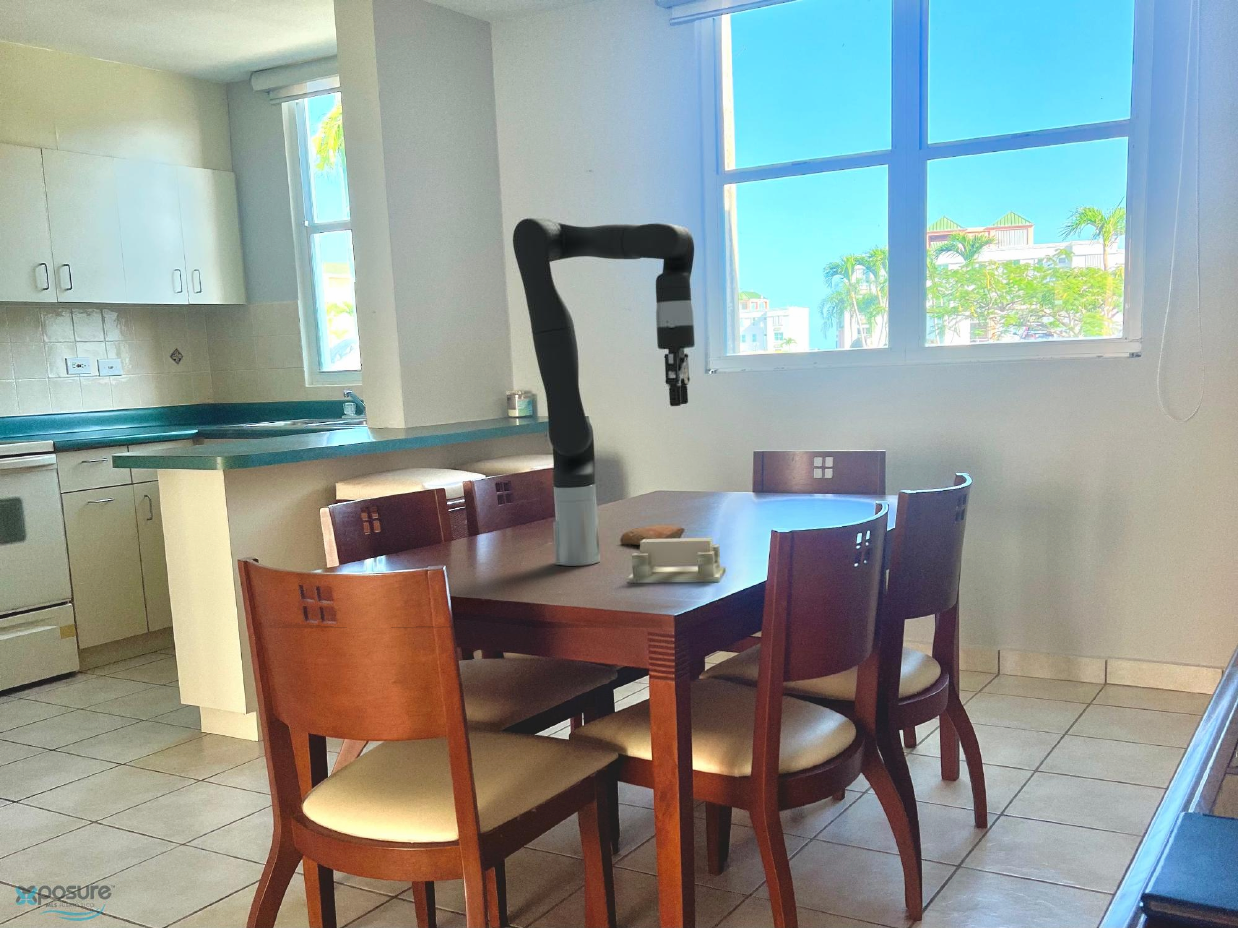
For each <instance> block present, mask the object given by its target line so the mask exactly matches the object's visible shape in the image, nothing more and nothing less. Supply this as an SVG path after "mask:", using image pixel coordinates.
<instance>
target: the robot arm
mask: <svg viewBox="0 0 1238 928" xmlns="http://www.w3.org/2000/svg"><path fill="white" fill-rule="evenodd" d="M512 247H513V251H514V252H513V253H514V255H515V256H514V257H515V259H516V263H517V266H518V267H517V268H518V271H519V273H520V274H519V275H520V277H521V281H522V284H523V289H524V294H525V298H526V299H525V300H526V305H527V311H528V314H529V321H530V327H531V334H532V341H533V347H534V352H535V356H536V361H537V365H538V370H539V374H540V376H541V377H540V378H541V380H542V381H541V382H542V384H543V387H544V392H545V393H544V394H545V397H546V407H547V409H546V410H547V421H548V424H547V425H548V438H549V442H550V444H551V446H552V460H553V461H552V462H553V467H552V468H553V470H552V472H553V473H552V485H553V498H554V511H555V512H554V513H555V515H554V516H555V521H553V523H552V527H553V540H554V541H553V543H554V555H555V556H554V557H555V565H557V566H558V565H561V566H567V567H568V566H569V567H570V566H571V567H572V566H574V567H575V566H579V567H580V566H588V565H593V564H597V563H599V562H600V561H601V555H600V554H601V553H600V550H601V549H600V539H599V538H600V537H599V521H598V506H597V505H598V504H597V488H596V461H595V460H596V458H595V456H596V455H595V438H594V430H593V426H592V423H591V422H590V420H589V419H588V418H587V417H586V413H585V409H584V406H583V401H582V397H581V392H580V385H579V384H580V383H579V373H580V372H579V371H580V370H579V365H580V364H579V351H578V342H577V336H576V330H575V324H574V320H573V317H572V314H571V313H570V311H569V309H568V307H567V305H566V303H565V301H564V300H563V298H562V296H561V294H560V293H559V292H558V289H557V287H556V285H555V282H554V279H553V275H552V274H553V273H552V268H551V264H550V263H551V262H555V261H561V260H566V259H571V258H579V257H580V258H582V257H589V258H590V257H592V258H599V259H600V258H601V259H608V260H609V259H610V260H639V259H642V258H643V259H655V260H656V259H657V260H663V262H662V263H663V266H662V273H659V274H658V275H657V277H656V279H655V295H656V296H655V300H656V307H655V308H656V310H655V319H656V320H655V322H656V326H655V327H656V343H657V349H659V350H667V351H668V352H667V353H664V356H663V358H664V367H665V368H664V369H665V370H664V372H665V381H664V382H665V385H667V388H668V396H669V405H670V407H680V406H681V405H686V404H688V403H689V394H688V385H689V383H690V381H691V377H690V369H689V354H688V353H685V350H686V349H689V348H694V347H695V344H696V343H695V342H696V341H695V327H694V326H695V324H694V311H693V305H692V291H691V275H692V270H693V263H694V256H695V243H694V238H693V235H692V234H691V232H690V230H689V229H687V228H686V227H685V226H681V225H676V224H671V223H667V222H665V223H662V222H659V223H658V222H655V223H646V224H645V223H644V224H640V225H639V224H627V223H626V224H623V223H622V224H621V223H619V224H618V223H617V224H616V223H615V224H603V225H595V226H594V225H593V226H577V225H570V224H566V223H561V222H557V221H553V220H551V219H547V218H546V219H545V218H532V217H529V218H524V219H522V220H520V221H519V222H518V223H517V224H516V225H515V228H514V230H513V233H512Z"/></svg>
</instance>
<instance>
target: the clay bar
mask: <svg viewBox="0 0 1238 928" xmlns="http://www.w3.org/2000/svg"><path fill="white" fill-rule="evenodd" d="M713 542H714V541H713V537H690V538H689V537H685V538H684V537H682V538H674V539H643V540H642V541H641V542H640V545H639V549H640V548H641V553H649V559H650V567H658V568H661V567H698V560H697V554H698V552H713V545H714V543H713Z"/></svg>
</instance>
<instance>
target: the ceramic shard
mask: <svg viewBox="0 0 1238 928" xmlns="http://www.w3.org/2000/svg"><path fill="white" fill-rule="evenodd" d="M684 533H685V527H680V526H674V525H652V526H645V527H637V528H633V529H630V530H628V531H626V532H624V533H622V535H621V537H620V539H619V542H620V544H621V545H622V546H629V545H630V546H631V545H638V546H640V542H641V541H642V540H643V539H674V538H681V537H682V535H683V534H684Z"/></svg>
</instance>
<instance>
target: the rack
mask: <svg viewBox="0 0 1238 928" xmlns="http://www.w3.org/2000/svg"><path fill="white" fill-rule="evenodd" d="M720 550H721V549H720V544H713V552H698V554H697V560H698V566H666V567H650V559H649V553H641V548H640V547H639V552H634V553H633V554H631V563H632V564H631V566H632V573H631V574H630V575H629V576H628V577H627V581H628V583H629V584H633V583H634V584H635V583H636V584H637V583H638V584H640V583H643V584H644V583H645V584H646V583H652V584H653V583H654V584H655V583H717V582H718V583H719V582H720V581H721V580H722V578H723V576H724V575H725V573H726V566H721V551H720Z"/></svg>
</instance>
